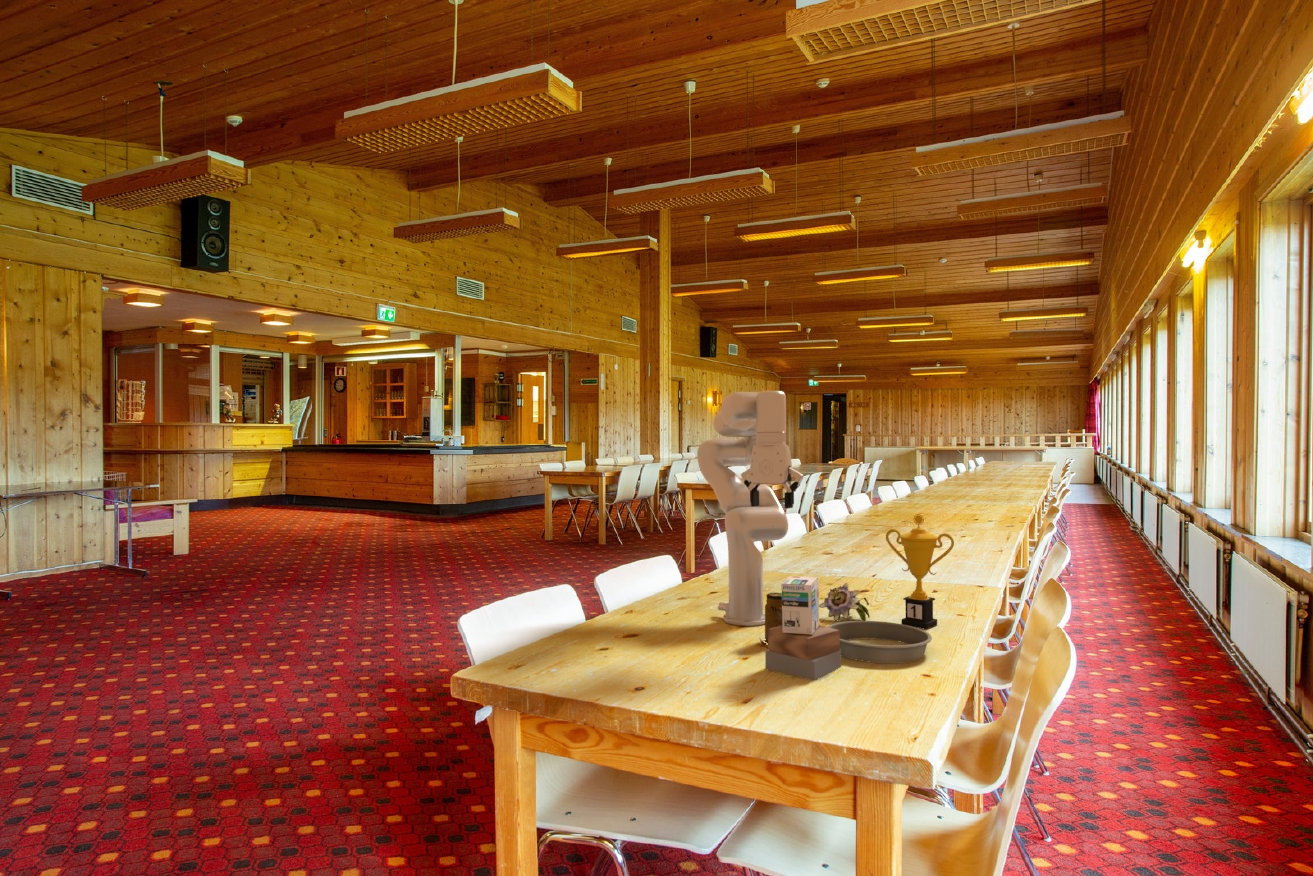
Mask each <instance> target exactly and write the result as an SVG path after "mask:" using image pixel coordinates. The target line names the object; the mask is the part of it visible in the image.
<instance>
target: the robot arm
mask: <svg viewBox="0 0 1313 876" xmlns="http://www.w3.org/2000/svg"><path fill="white" fill-rule="evenodd" d="M713 418H714V419H713V428H714V430H715V431H716V433H717V434H718V435H719V436H720V435H721V436H722V437H727V438H712V439H708V440H705V441H703V442H702V443H700V444H699V446H698V447H697V451H696V453H697V454H696V455H697V456H696V457H697V464H698V468H699V470H700V473H701V474H702V476H703V478H704V479H705V481H706V482H707V483H708V484H709V485H710V487H711V488H712V490H713V492H714V495H715V497H716V498H717V501H718V504H719V506H720V507H721V510H722V512H723V513H724V514H725V517H724V528H725V533H726V540H727V541H726V542H727V553H728V555H727V557H728V559H727V560H728V561H727V563H728V602H724V601H720V602H719V603H718V606H717V610H718V611H724V612H725V613H724V615H723V617H722V619H723V622H725V623H727V624H730V625H735V626H746V627H747V626H748V627H750V626H754V627H755V626H761V625H765V613H764V564H763V563H764V561H763V559H764V558H763V555H762V553H761V551H760V550H759V548H758V547H757V546H756V545H755V542H765V541H766V542H767V541H779V540H782V539H784V538H785V537H786V535H787V534H788V531H789V522H788V517H787V515H786V512H785V510H784V508H785V509H793V508H794V504H795V492H796V491H797V489H798V488H799V487H801V483H802V481H803V479H804V477H805V476H804V474H803V473H801V472H799V471H797V470H796V469H794V468H793V466H792V465H793V464H792V455H791V450H790V446H789V445H788V444H787V396H786V394H785V392H784V391H780V390H762V391H736V392H732V393H730V394H728V395H727V396H725V397H724V398H723V400H722V403H721V407H720V411H719V412H717V414H716V415H715V416H714V417H713ZM747 466H749V467H750V468H749V469H747V470H745V471H743V472H742V473H740V476H741V478H742V480H743V483H742V481H741V479H740V477H739V476H738V474H737V473H735V471H733V470H732V469H731V468H728V467H747ZM793 477H794V478H795V479H794V481H793ZM792 481H793V483H792ZM769 485H771V486H772V485H775V486H777V485H782V487H783V488H784V490H785V491H786V492H784V508H783V506H782V505H781V502H780V501H779V499H778V496H777V495H776V493H775V492H774V490H773V489H772V487H770V486H769Z"/></svg>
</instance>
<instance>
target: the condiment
mask: <svg viewBox="0 0 1313 876" xmlns="http://www.w3.org/2000/svg"><path fill="white" fill-rule="evenodd" d="M765 601H766V604H765V605H764V614H765V624H764V637H760V638H759V639H760V641H761V642H762V641H765V642H767V643H768V629H770V628H774V627H778V626H782V592H768V593H767V594H766V599H765ZM761 638H762V639H764V638H765V639H766V640H762V639H761ZM762 644H763V645H764V646H765V647H766V648H768V645H766V643H763V642H762Z"/></svg>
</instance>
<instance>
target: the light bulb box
mask: <svg viewBox="0 0 1313 876" xmlns="http://www.w3.org/2000/svg"><path fill="white" fill-rule="evenodd" d="M819 582H820V581H819V577H814V576H799V575H789V576H788V577H787V578H786V579H785V580H784V581H782V583H780V584H781V585H780V587H781V593H782V625H783V633H795V634H808V635H812V634H813V633H814V632H815V630H816V629H817V628H818V626H819V625H820V626H821V623H820V607H819V605H820V595H819V594H820V589H819V587H820V585H819Z"/></svg>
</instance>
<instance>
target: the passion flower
mask: <svg viewBox="0 0 1313 876" xmlns="http://www.w3.org/2000/svg"><path fill="white" fill-rule="evenodd" d="M860 593H861V591H860V589H855V590H850V589H849V583H847V582H845V583H843V585H842V586H841V585H840V586H837V587H834V588H830V589H829V591H828V592H827V597H825V598H824V602H822V603H819V608H823V609H824V608H826V609H827V610H828V618H832V617H833V621H834V620H835V621H834V622H838V621H839V620H840V618H841V615H842V617H843V618H844V619H848V618H849V617H850V615H851V613H850V610H851V609H852V610H855V611H856V612H857V614H858V616H859V617H860V619H861V621H867V617H868V619H870V612H869V610H868V608H867V607H866V606H865V605H863V604H862V603H861V600H864V601H865V602H866V604H867V606H869V605H870V602H869V601H868V599H867V597H866V596H865V597H862V598H859V597H857V596H858V595H859V594H860ZM837 620H838V621H837Z"/></svg>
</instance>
